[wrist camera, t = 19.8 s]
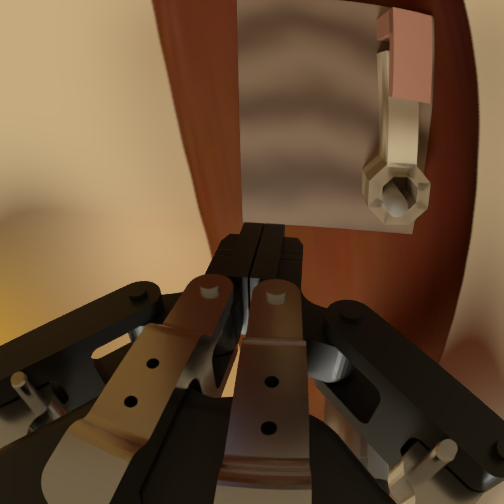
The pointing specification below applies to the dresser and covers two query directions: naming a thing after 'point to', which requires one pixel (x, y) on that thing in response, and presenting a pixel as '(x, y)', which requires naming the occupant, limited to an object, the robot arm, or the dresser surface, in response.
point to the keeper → (408, 53)
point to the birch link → (395, 153)
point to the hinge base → (314, 113)
